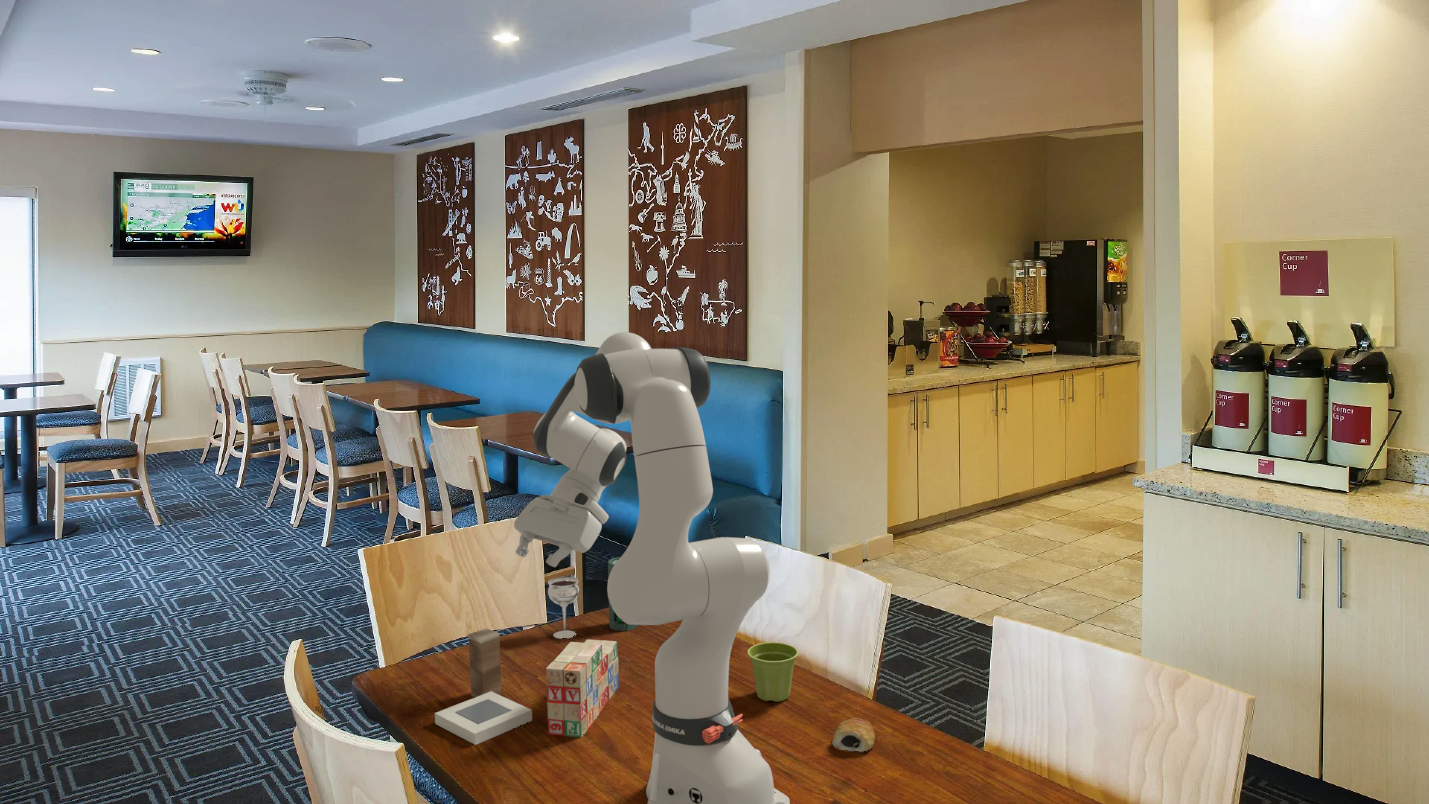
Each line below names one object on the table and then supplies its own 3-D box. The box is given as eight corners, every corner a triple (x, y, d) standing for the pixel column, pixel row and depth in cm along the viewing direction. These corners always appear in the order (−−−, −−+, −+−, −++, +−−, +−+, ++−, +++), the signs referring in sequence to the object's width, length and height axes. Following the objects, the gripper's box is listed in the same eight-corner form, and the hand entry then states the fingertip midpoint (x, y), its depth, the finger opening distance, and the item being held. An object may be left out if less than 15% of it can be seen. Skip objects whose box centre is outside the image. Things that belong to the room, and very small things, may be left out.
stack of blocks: (588, 684, 194) (586, 623, 192) (619, 687, 193) (618, 625, 191) (547, 735, 173) (545, 667, 172) (582, 738, 172) (580, 670, 170)
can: (620, 633, 221) (618, 566, 219) (604, 625, 225) (603, 560, 223) (642, 626, 224) (641, 561, 222) (627, 619, 229) (625, 555, 227)
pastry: (841, 726, 176) (841, 705, 175) (879, 732, 174) (880, 711, 173) (830, 751, 167) (831, 729, 166) (871, 757, 165) (871, 735, 164)
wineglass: (543, 637, 218) (541, 584, 216) (559, 627, 224) (558, 575, 223) (570, 642, 215) (568, 588, 214) (586, 631, 222) (584, 578, 220)
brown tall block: (501, 694, 189) (499, 633, 188) (483, 702, 186) (481, 639, 185) (488, 689, 192) (486, 628, 190) (470, 695, 189) (468, 634, 187)
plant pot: (769, 711, 182) (769, 665, 180) (737, 693, 189) (737, 649, 188) (808, 697, 187) (808, 653, 186) (776, 681, 195) (776, 638, 193)
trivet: (532, 720, 179) (531, 709, 178) (475, 744, 170) (474, 733, 169) (491, 701, 186) (491, 690, 186) (435, 723, 178) (434, 712, 177)
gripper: (530, 484, 206) (492, 541, 200) (597, 500, 192) (559, 562, 187) (547, 501, 210) (511, 557, 204) (614, 518, 196) (577, 579, 191)
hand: (534, 560), depth 195 cm, fingers open, 8 cm apart
